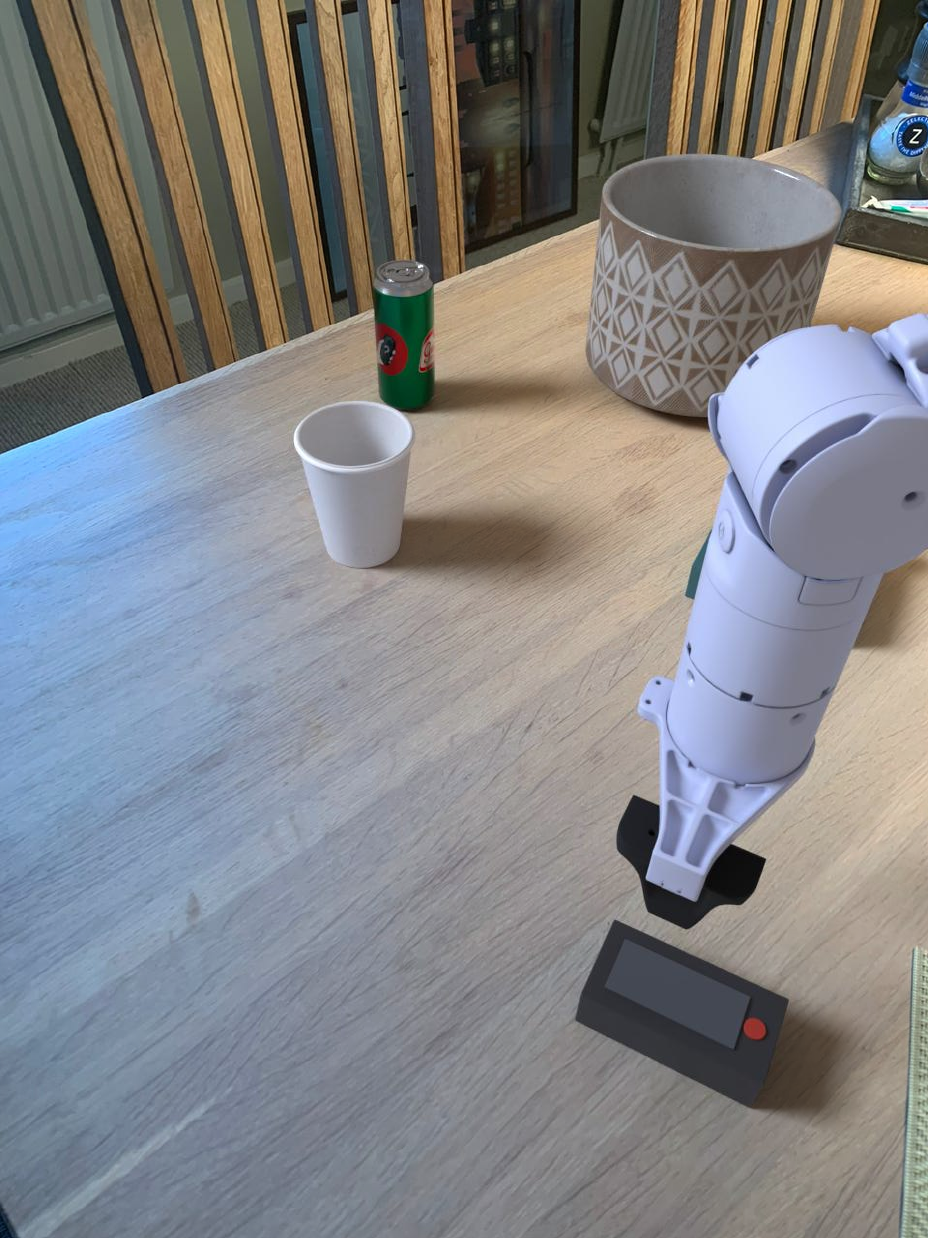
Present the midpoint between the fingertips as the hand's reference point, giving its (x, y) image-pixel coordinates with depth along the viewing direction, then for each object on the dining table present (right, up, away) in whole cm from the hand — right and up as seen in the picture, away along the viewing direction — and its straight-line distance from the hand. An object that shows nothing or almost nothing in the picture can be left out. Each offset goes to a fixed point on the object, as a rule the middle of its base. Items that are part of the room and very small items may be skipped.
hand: (697, 848), depth 46 cm
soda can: (-16, +31, +43) cm, 55 cm away
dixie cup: (-19, +16, +29) cm, 38 cm away
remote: (0, -9, +3) cm, 10 cm away
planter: (+10, +34, +47) cm, 58 cm away
